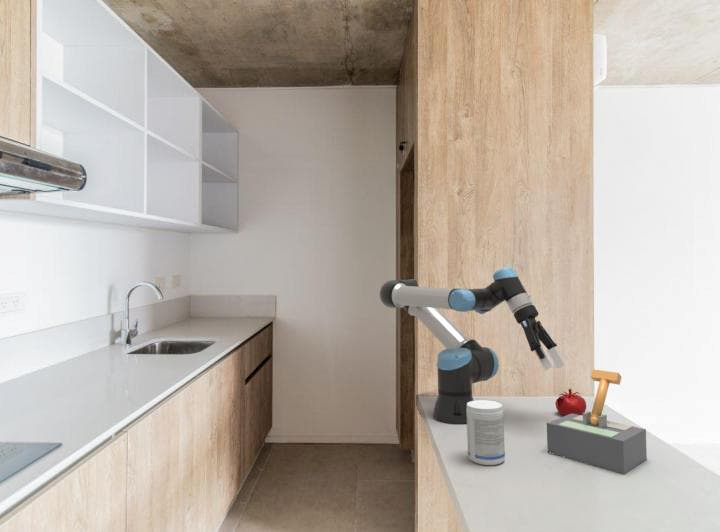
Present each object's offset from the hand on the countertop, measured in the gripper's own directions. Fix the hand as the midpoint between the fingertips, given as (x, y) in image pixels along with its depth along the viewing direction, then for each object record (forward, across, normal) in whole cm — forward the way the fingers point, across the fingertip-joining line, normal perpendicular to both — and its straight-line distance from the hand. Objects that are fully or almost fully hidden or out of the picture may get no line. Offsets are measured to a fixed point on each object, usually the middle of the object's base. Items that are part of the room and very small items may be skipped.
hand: (555, 367), depth 153 cm
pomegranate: (+15, +20, +9) cm, 27 cm away
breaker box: (+26, -16, -2) cm, 31 cm away
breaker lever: (+19, -18, -6) cm, 26 cm away
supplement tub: (+16, -35, +19) cm, 43 cm away
